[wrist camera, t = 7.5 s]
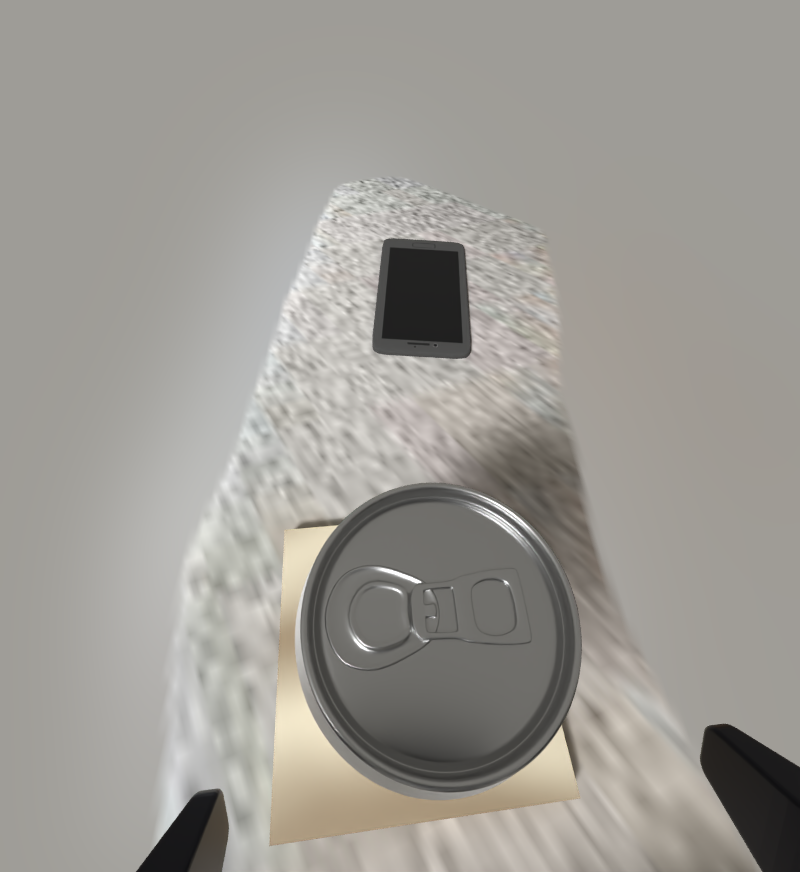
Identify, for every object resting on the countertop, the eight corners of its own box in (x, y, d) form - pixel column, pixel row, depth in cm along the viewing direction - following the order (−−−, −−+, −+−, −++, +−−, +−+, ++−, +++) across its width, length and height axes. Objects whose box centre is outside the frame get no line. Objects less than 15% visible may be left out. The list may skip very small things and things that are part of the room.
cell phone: (462, 249, 37) (464, 241, 36) (470, 363, 29) (472, 356, 29) (383, 244, 37) (383, 236, 36) (371, 357, 29) (370, 349, 29)
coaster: (570, 792, 17) (580, 798, 16) (275, 837, 16) (269, 845, 15) (502, 516, 23) (506, 510, 22) (288, 535, 22) (284, 529, 21)
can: (338, 580, 20) (290, 471, 9) (467, 572, 20) (554, 460, 10) (335, 745, 16) (257, 850, 6) (491, 730, 17) (660, 808, 7)
